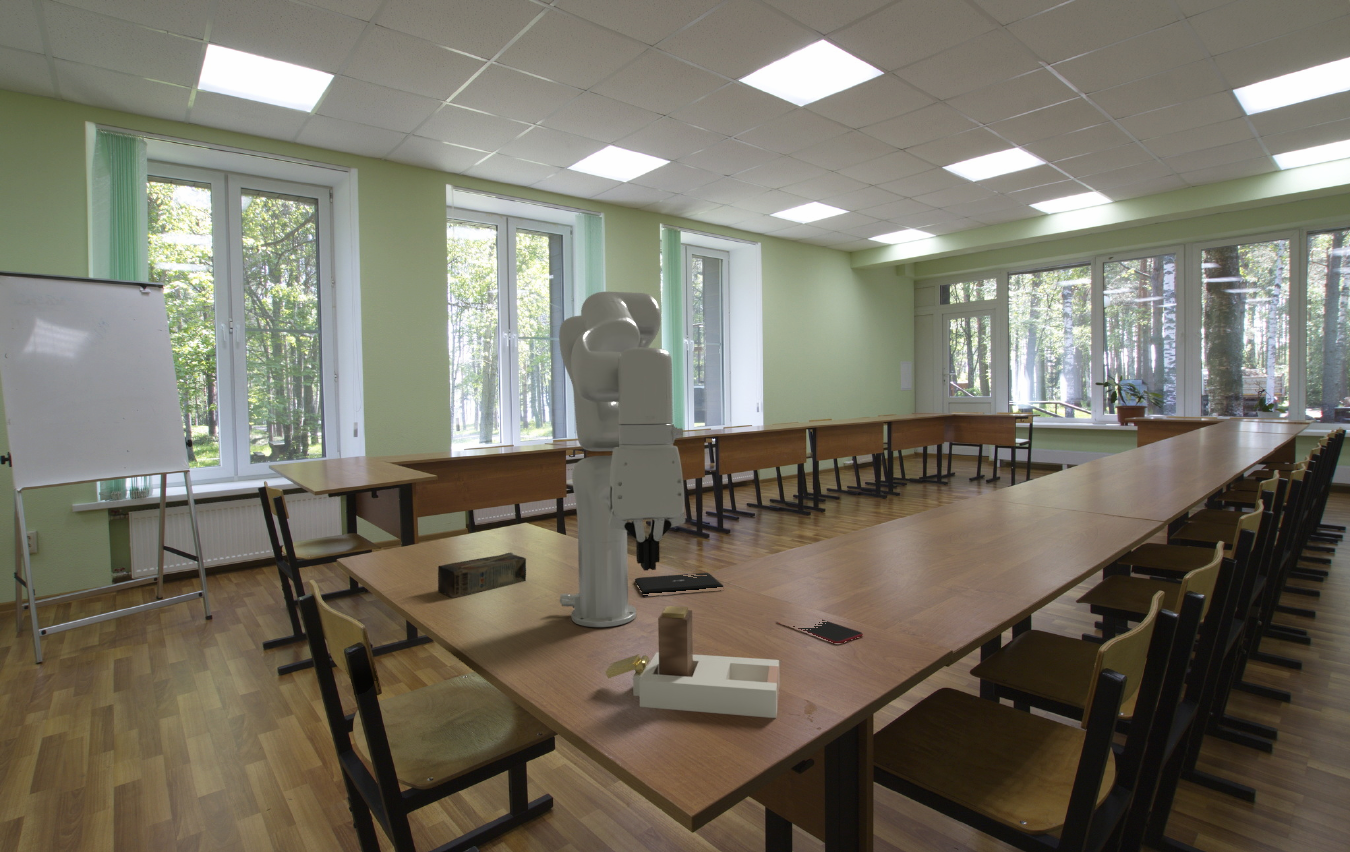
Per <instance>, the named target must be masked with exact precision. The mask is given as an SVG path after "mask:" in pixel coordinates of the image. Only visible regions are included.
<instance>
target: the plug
mask: <svg viewBox="0 0 1350 852" xmlns="http://www.w3.org/2000/svg"><path fill="white" fill-rule="evenodd" d="M657 621H658V625H657V627H658V628H657V629H658V652H659V675H671V676H685V677H692V676H693V654H694V653H693V652H694V651H693V647H694V646H693V644H694V643H693V641H694V640H693V639H694V638H693V610H691V609H689V607H688V606H673V605H672V606H671V605H667V606H666V607H665V608H663V611H662V612H661V613H660V615H659V616H658V618H657Z"/></svg>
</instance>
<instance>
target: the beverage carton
mask: <svg viewBox="0 0 1350 852" xmlns="http://www.w3.org/2000/svg"><path fill="white" fill-rule="evenodd" d="M437 577H438V578H437V591H438V592H439V593H441V594H444V595H445V596H447V597H449V598H452V599H455V598H460V597H464V596H467V595H473V594H476V593H481V592H486V591H490V590H493V589H499V588H502V587H506V586H511V585H514V584H519V583H523V582H526V579H527V558H526V557H523V556H519V555H517V554H514V553H513V552H505V553H504V554H500V555H493V556H492V555H491V556H485V557H480V558H475V559H469V560H465V561H459V562H458V561H457V562H451V563H447V564H446V563H445V564H442V565H438V568H437Z"/></svg>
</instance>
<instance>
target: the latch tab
mask: <svg viewBox="0 0 1350 852" xmlns="http://www.w3.org/2000/svg"><path fill="white" fill-rule="evenodd" d="M649 663H650V657H649V656H648V655H646V654H645V655H642V656H640V654H635V655H632V656H629V657H626V658H623V659H621V660H618V661H614V662H612V663H611V664H610V665H609V666H608V667H607V669H606V670H605V675H606V677H607V679H611V678H614V677H616V676H617V677H618V676H620V675H623V674H625V673H629V672H632V671H635V672H636V673H638V674H641V673H642V672H643V671H644V669H645V667H646V666H647V665H649ZM635 672H634V673H635Z"/></svg>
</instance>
